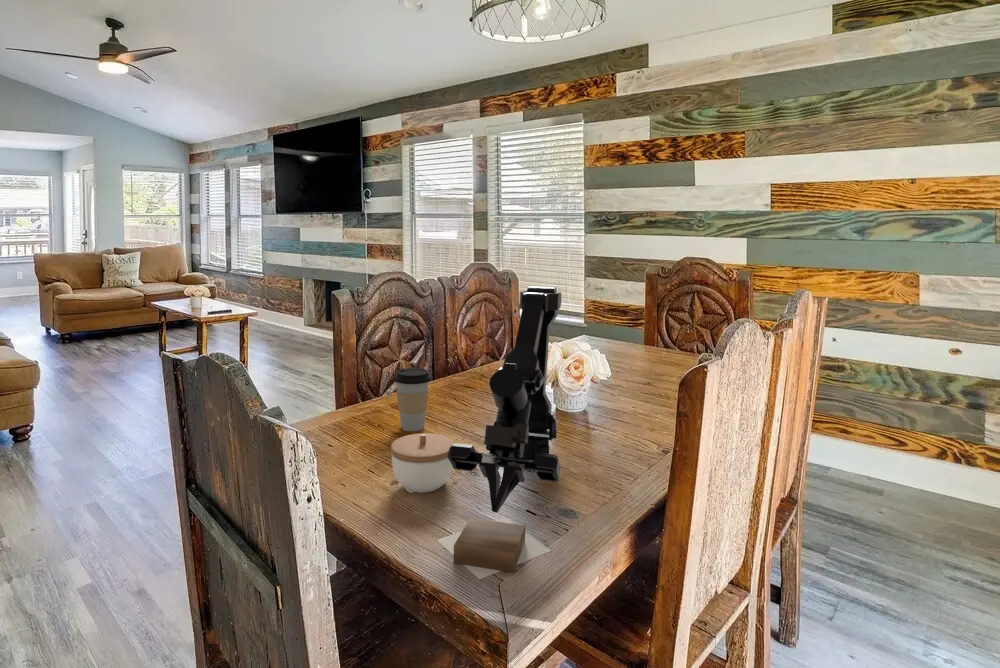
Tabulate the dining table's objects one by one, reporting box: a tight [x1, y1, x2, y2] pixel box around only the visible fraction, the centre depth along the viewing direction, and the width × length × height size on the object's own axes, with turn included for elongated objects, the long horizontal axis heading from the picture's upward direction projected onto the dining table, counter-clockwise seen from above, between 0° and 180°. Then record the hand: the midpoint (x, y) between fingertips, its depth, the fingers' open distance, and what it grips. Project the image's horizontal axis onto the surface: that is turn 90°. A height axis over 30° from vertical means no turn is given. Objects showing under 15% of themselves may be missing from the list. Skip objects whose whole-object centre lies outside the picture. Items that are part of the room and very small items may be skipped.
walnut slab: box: [453, 517, 526, 574], centre depth 94 cm, size 3×10×9 cm
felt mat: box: [436, 517, 552, 580], centre depth 96 cm, size 13×14×1 cm
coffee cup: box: [393, 367, 432, 432], centre depth 150 cm, size 9×9×15 cm
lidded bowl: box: [390, 433, 455, 494], centre depth 117 cm, size 13×13×11 cm
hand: (494, 511), depth 95 cm, fingers closed
